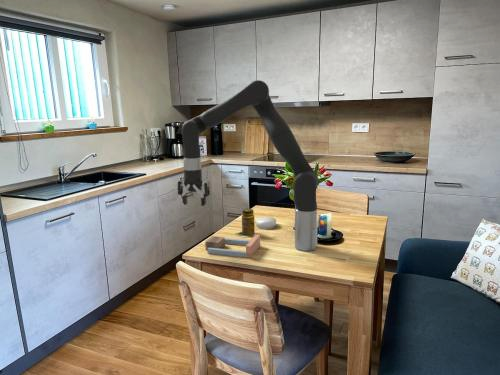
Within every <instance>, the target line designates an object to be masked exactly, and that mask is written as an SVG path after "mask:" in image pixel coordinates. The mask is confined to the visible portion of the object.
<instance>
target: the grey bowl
mask: <svg viewBox="0 0 500 375" xmlns="http://www.w3.org/2000/svg"><path fill="white" fill-rule="evenodd" d="M255 222H256V226H257V228H259V229H262V230H263V229H264V230H270V229H275V227H276V226H277V219H276V218H274V217H269V216H263V217H259V218H257V219H256V221H255Z"/></svg>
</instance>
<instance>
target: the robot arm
mask: <svg viewBox="0 0 500 375" xmlns="http://www.w3.org/2000/svg"><path fill="white" fill-rule="evenodd" d="M249 106H252V108H254V110H255V112H256V113H257V115H258V116H259V118H260V120H261V122H262V125H263V126H264V129H265V131H266V133H267V136H268V138H269V140H270V141H271V143H272V144H273V146H274V148H275V149H276V151H277V153H278V154H279V155H280V157H282V158H283V159H284V161H285V162H287V164H288V165H289V167H290V168H291V170H292V172H293V174H294V176H295V178H294V181H293V203H294V248H295V249H296V250H297V251H302V252H309V251H316V249H317V247H318V223H317V222H318V221H317V219H318V202H317V187H318V185H319V177H318V174H316V172H315V170H314V169H313V167H312V166H311V165H310V163H309V162H308V160H307V159H306V157H305V155H304V154H303V151H302V149H301V147H300V145H299V143H298V141H297V139H296V137H295V135H294V133H293V131H292V130H291V128H290V126H289V125H288V124H287V122H286V121H285V119H284V118H283V117H282V116H281V115H280V113H279V112H278V111H277V109H276V108H275V106H274V103H273V101H272V99H271V96H270V89H269V85H268V84H267V83H266V82H265V81H263V80H259V79H258V80H253V81H252V82H250V83H249V84H248V85H247V86H245V87H244V88H243V89H241V90H240V91H239V92H237V93H236V94H234V95H232V97H229V98H228V99H226V100H224V101H223V102H220V103H219V104H216V105H214V106H213V107H211V108H209V109H207V110H206V111H203V113H201V114H200V115H198V116H195V117H193V118H191V119H189V120H187V121H185V122H184V123H183V124H182V126H181V138H182V144H183V148H182V149H183V150H182V152H183V179H184V180H182V179H181V180H179V181H177V195H180V196H181V197H182V198H181V199H182V204H183V205H184V206H185V205H188V195H187V194H188V193H189V192H194V193H197V194H198V195H199V196H200V203H201V204H200V206H201V207H204V206H206V204H207V197H210V195H211V192H210V191H211V190H210V182H209V181H206V182H203V180H202V179H203V176H202V175H203V172H202V167H203V166H202V159H201V158H202V157H201V147H200V134H201V133H203V132H205V131H206V130H208V129H211V128H214V127H217V126H218V125H219V124H221V123H223V122H225V121H226V120H228V119H229V118H231V117H232V116H233V115H236V113H238V112H239V111H241V110H243V109H244V108H247V107H249ZM184 186H185V187H184ZM203 188H204V189H203Z"/></svg>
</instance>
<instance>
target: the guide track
mask: <svg viewBox="0 0 500 375" xmlns="http://www.w3.org/2000/svg"><path fill="white" fill-rule="evenodd" d="M224 239H225V244H227V245H237V246H245V250H237V249H233V250H232V249H229V248H228V249H227V248H221V249H218V248H208V250H207V254H211V255H219V256H229V257H240V258H249V259H251V258H252V257H253V256H254V255H255V254H256V251H258V249H259V248H260V247H261V235H260V234H257V235H253V236H252V238H251V239H250V240H249V239H239V238H238V239H237V238H226V237H224Z"/></svg>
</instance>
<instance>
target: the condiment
mask: <svg viewBox="0 0 500 375" xmlns="http://www.w3.org/2000/svg"><path fill="white" fill-rule="evenodd" d="M241 214H242V215H241V231H240V232H235V234H236V235H238V237H241V238H242V239H243V238H248V237H254V236H255V235H258V233H257V232H256V230H255V225H256V224H255V215H254V214H255V213H254V209H252V208H244V209H242V213H241Z"/></svg>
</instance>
